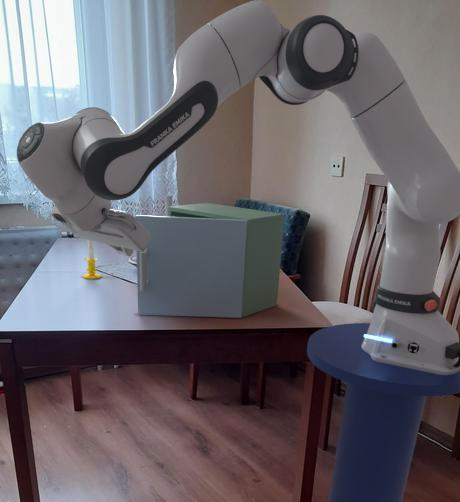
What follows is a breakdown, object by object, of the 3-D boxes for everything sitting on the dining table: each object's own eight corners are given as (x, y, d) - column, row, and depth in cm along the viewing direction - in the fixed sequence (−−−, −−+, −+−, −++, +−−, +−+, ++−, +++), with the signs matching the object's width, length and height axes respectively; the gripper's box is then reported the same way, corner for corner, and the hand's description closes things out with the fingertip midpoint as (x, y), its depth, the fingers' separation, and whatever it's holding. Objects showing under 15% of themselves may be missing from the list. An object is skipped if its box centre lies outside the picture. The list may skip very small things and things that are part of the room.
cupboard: (242, 317, 142) (248, 219, 131) (168, 296, 155) (168, 206, 144) (276, 305, 153) (284, 214, 142) (204, 286, 167) (207, 202, 156)
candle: (103, 275, 173) (100, 223, 166) (97, 279, 168) (94, 226, 161) (86, 274, 173) (83, 222, 166) (81, 278, 169) (77, 225, 162)
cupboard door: (242, 324, 136) (248, 224, 125) (135, 321, 134) (132, 219, 123) (240, 316, 141) (246, 220, 131) (138, 313, 140) (135, 215, 129)
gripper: (133, 199, 99) (171, 248, 111) (61, 188, 110) (102, 234, 121) (116, 227, 98) (155, 274, 110) (44, 213, 109) (87, 257, 120)
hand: (127, 252), depth 116 cm, fingers closed
